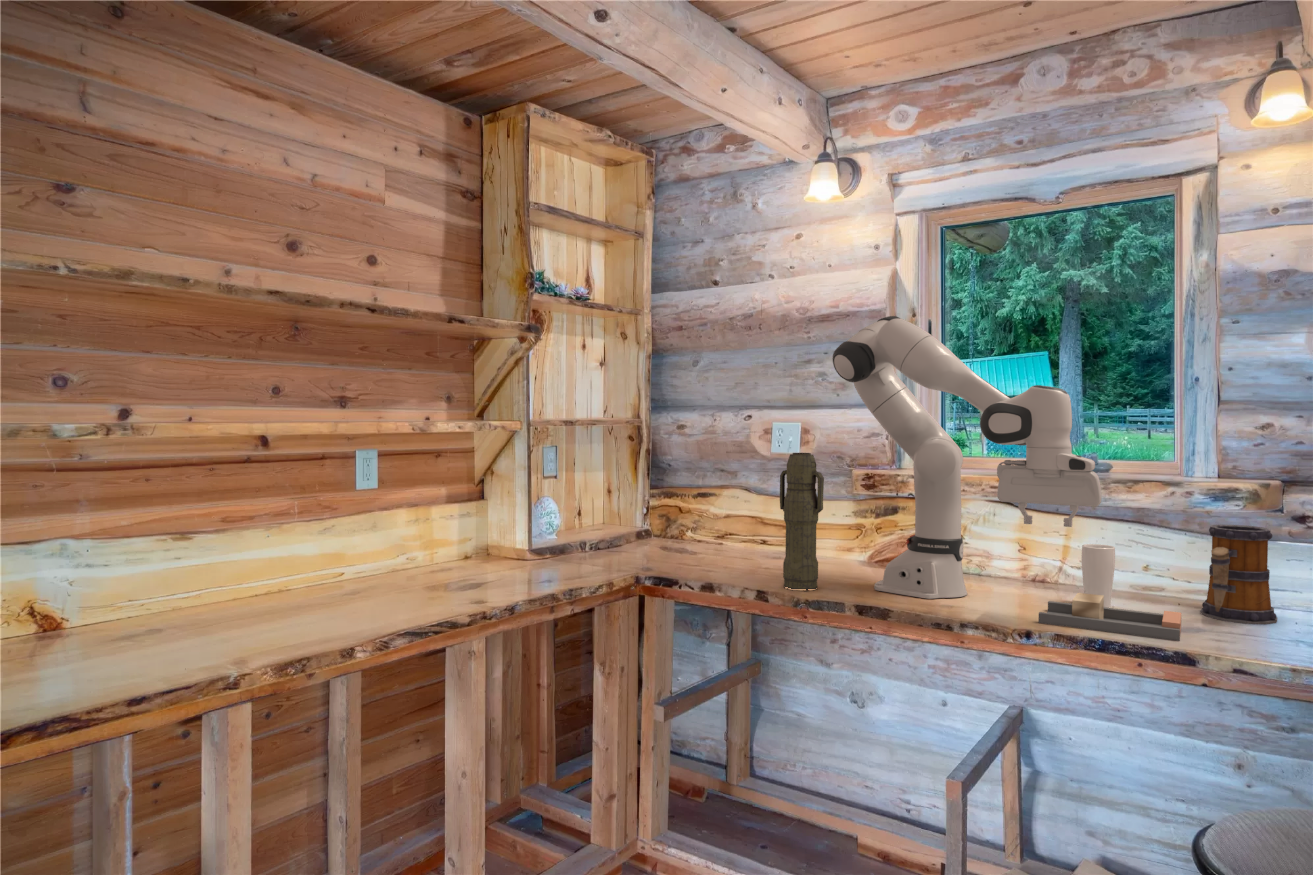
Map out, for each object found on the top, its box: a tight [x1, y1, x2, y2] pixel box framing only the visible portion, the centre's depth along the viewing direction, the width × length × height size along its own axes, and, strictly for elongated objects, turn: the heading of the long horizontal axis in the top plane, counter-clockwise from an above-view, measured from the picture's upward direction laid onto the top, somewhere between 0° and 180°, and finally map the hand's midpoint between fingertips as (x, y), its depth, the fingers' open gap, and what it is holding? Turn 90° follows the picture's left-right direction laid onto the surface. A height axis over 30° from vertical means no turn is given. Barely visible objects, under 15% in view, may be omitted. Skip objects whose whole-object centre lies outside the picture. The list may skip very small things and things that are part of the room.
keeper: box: [1071, 592, 1104, 619], centre depth 175 cm, size 5×9×5 cm, turn 147°
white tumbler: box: [1081, 543, 1116, 608], centre depth 191 cm, size 7×7×15 cm
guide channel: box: [1038, 600, 1182, 642], centre depth 173 cm, size 25×14×4 cm, turn 57°
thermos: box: [779, 452, 825, 590], centre depth 216 cm, size 9×12×35 cm
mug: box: [1199, 524, 1278, 625], centre depth 185 cm, size 19×14×20 cm
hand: (1047, 525), depth 179 cm, fingers open, 6 cm apart
